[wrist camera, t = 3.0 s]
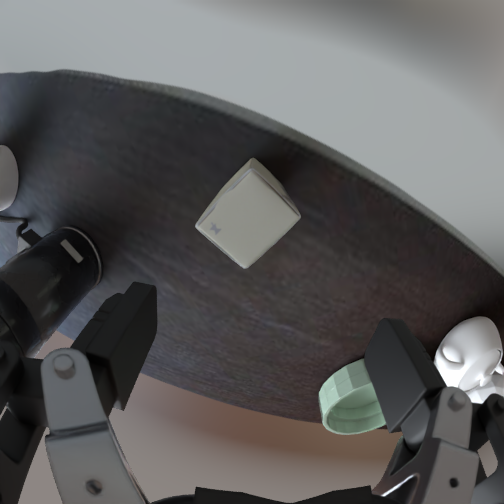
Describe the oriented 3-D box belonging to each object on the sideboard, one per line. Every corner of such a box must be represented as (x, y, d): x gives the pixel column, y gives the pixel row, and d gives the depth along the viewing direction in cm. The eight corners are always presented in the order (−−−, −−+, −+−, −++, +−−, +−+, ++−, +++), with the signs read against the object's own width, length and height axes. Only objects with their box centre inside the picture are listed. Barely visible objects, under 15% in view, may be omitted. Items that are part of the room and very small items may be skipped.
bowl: (307, 411, 43) (310, 436, 38) (336, 351, 37) (345, 379, 32) (380, 409, 43) (387, 430, 38) (418, 353, 37) (431, 375, 32)
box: (249, 218, 30) (242, 276, 18) (218, 189, 28) (189, 229, 17) (285, 183, 28) (305, 218, 16) (254, 153, 27) (250, 165, 15)
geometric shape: (457, 379, 49) (443, 433, 40) (493, 350, 38) (485, 413, 29) (492, 393, 43) (482, 445, 34) (529, 367, 33) (524, 426, 24)
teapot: (399, 365, 38) (422, 414, 28) (445, 297, 33) (484, 342, 23) (468, 371, 41) (490, 406, 31) (505, 318, 35) (534, 350, 25)
